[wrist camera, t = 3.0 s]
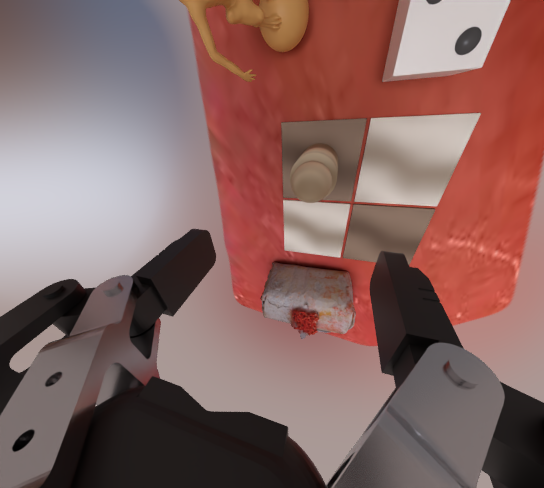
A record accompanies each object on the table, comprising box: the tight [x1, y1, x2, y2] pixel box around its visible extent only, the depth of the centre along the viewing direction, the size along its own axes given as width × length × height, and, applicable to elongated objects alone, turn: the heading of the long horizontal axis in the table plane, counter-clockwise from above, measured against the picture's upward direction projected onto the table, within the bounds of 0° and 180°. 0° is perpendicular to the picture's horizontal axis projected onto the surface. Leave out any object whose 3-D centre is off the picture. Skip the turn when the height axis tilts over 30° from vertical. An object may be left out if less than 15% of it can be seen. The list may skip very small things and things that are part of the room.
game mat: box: [281, 113, 481, 265], centre depth 24 cm, size 18×18×1 cm
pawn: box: [290, 143, 338, 203], centre depth 19 cm, size 4×4×8 cm
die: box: [382, 0, 510, 82], centre depth 13 cm, size 5×5×5 cm
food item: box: [261, 262, 356, 339], centre depth 30 cm, size 14×8×10 cm, turn 95°
